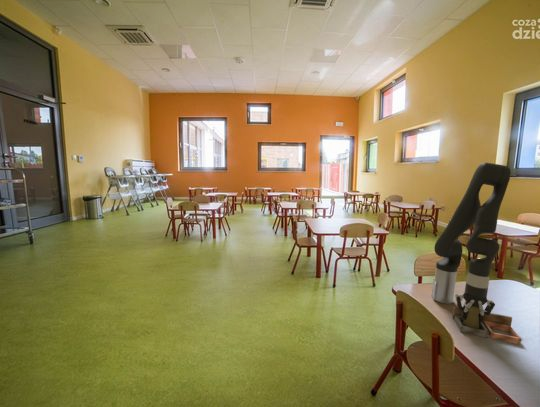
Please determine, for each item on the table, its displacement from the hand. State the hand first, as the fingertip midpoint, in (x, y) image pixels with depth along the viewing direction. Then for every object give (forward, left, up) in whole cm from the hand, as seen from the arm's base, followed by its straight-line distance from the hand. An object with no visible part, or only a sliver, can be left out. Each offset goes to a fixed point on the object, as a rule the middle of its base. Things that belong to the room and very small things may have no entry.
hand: (471, 320), depth 114 cm
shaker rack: (+5, 0, -4) cm, 6 cm away
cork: (0, 0, -4) cm, 4 cm away
